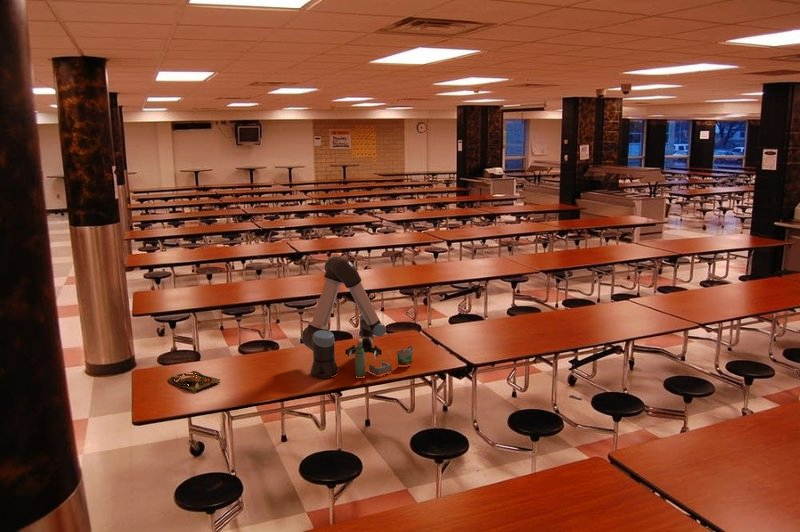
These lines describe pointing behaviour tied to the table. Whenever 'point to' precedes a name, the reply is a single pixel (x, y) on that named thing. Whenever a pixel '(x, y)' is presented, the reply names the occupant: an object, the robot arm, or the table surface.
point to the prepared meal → (193, 381)
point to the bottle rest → (381, 370)
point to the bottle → (359, 360)
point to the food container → (405, 356)
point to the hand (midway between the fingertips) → (362, 357)
